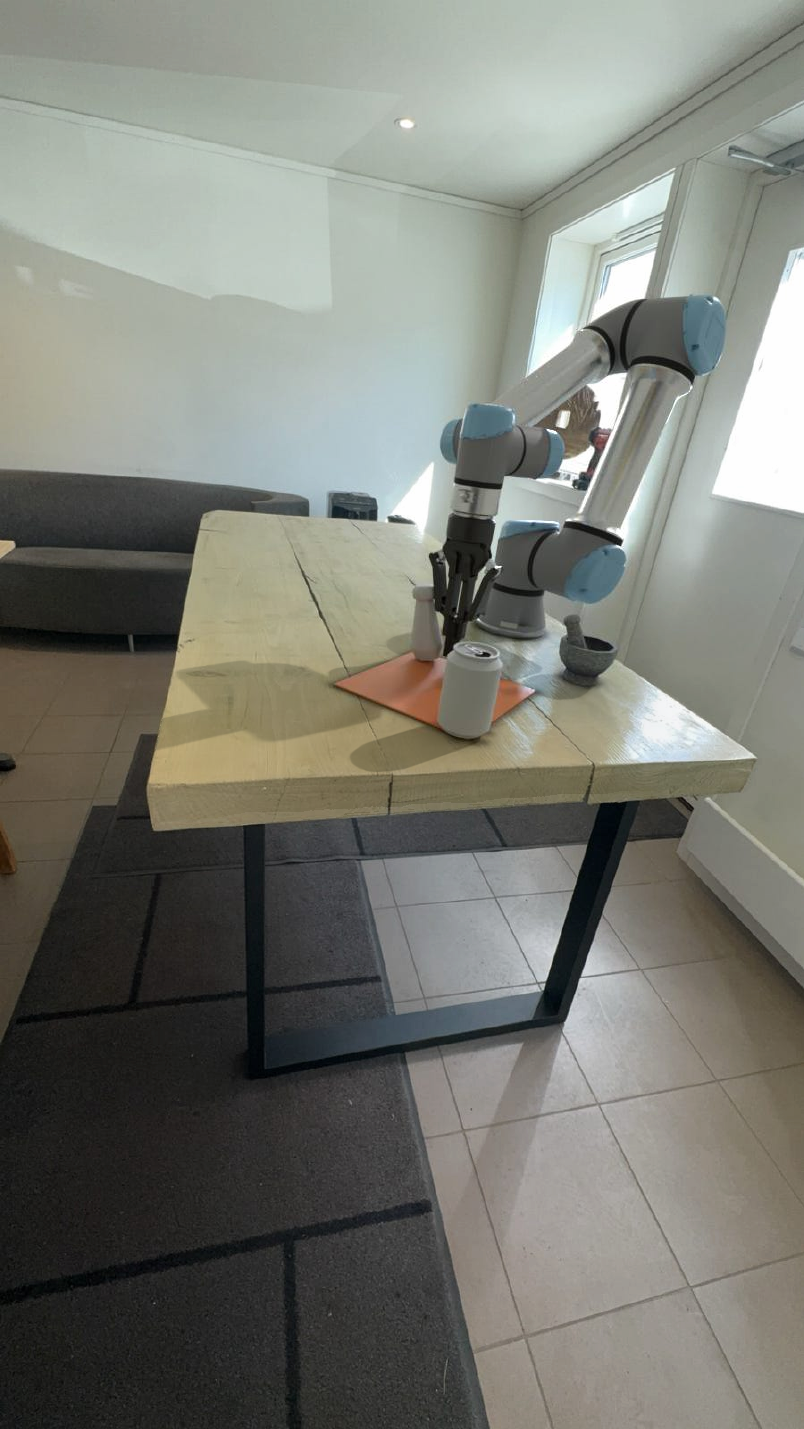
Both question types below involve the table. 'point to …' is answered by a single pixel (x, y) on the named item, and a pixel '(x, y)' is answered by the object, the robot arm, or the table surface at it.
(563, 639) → the mortar and pestle
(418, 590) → the salt shaker
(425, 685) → the orange square board
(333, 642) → the table surface
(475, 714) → the can
